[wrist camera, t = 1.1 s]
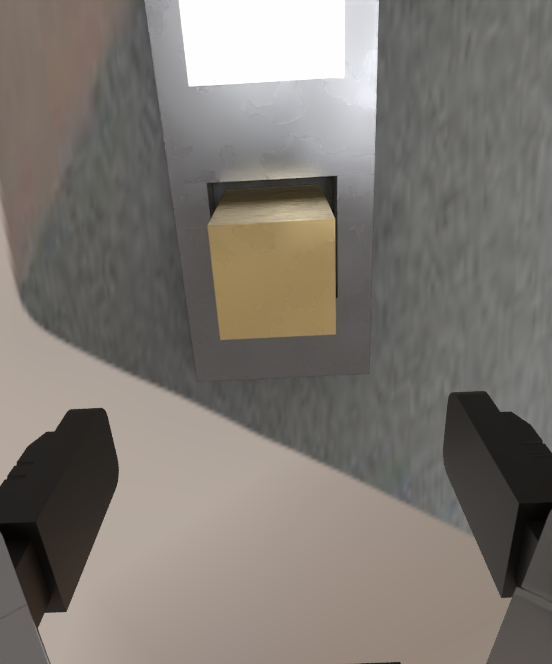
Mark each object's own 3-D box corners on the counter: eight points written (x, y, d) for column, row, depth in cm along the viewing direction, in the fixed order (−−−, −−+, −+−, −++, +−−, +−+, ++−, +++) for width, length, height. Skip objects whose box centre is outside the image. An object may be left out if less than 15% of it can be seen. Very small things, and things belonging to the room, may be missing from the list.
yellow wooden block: (225, 189, 28) (207, 225, 20) (320, 183, 28) (334, 218, 20) (234, 278, 30) (220, 340, 23) (321, 273, 30) (335, 334, 22)
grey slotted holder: (135, -135, 22) (121, -157, 20) (374, -152, 22) (383, -176, 20) (201, 365, 32) (196, 383, 30) (363, 357, 32) (369, 375, 30)
